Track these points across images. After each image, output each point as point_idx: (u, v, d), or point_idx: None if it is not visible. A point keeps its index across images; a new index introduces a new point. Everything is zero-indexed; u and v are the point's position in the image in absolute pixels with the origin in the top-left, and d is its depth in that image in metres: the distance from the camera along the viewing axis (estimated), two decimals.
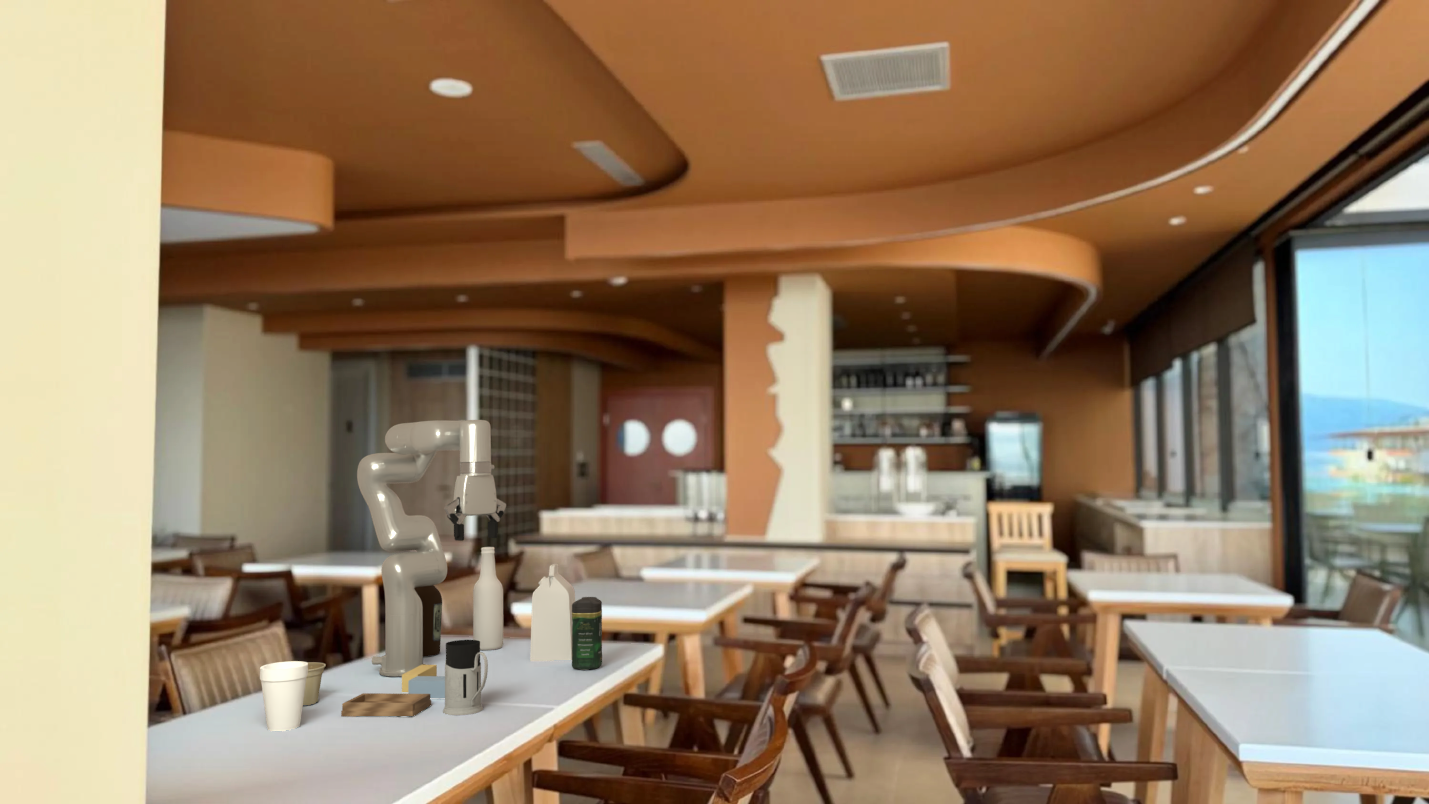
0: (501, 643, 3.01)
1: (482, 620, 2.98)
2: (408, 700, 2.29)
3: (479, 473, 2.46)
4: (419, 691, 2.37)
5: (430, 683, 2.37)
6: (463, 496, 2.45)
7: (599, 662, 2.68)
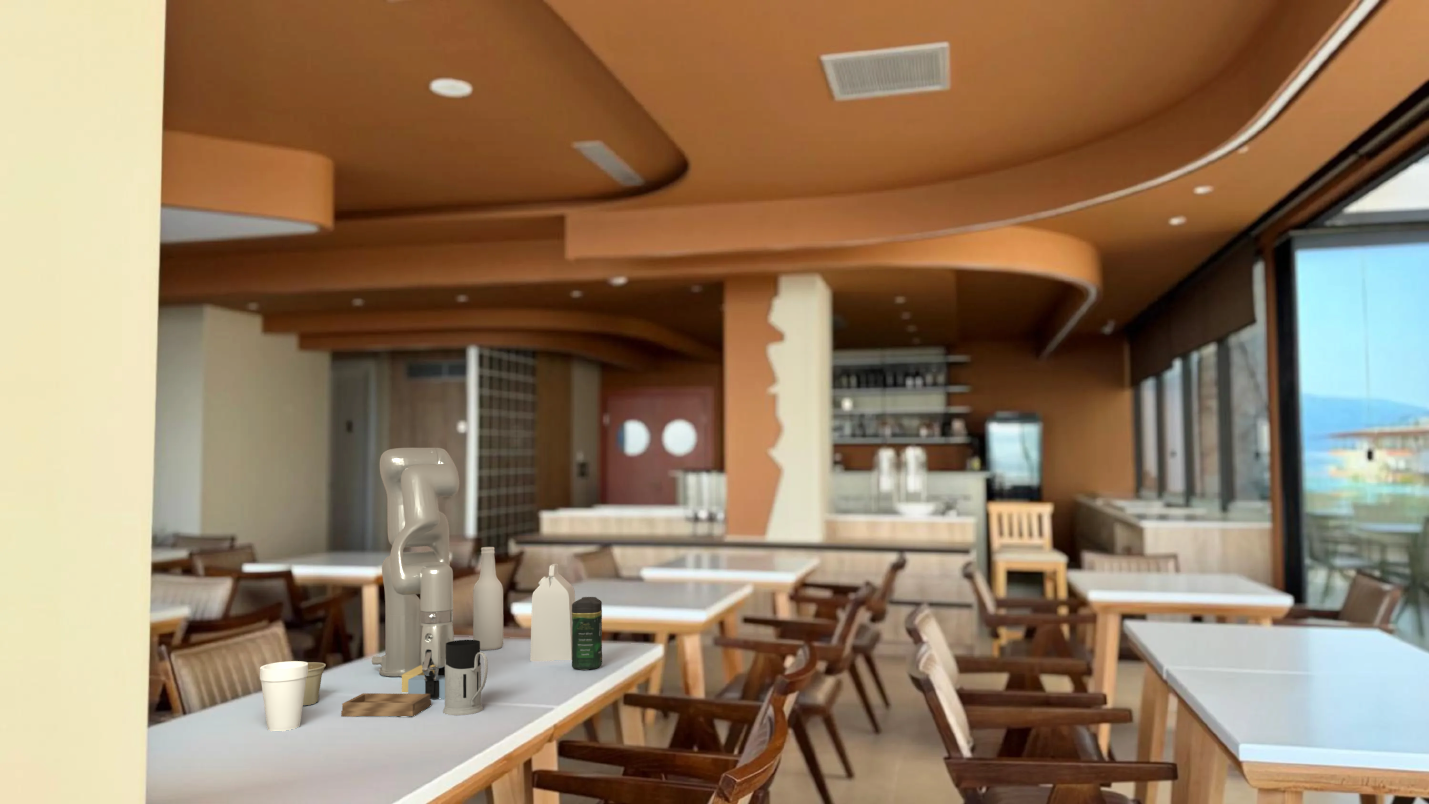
0: (501, 643, 3.01)
1: (482, 620, 2.98)
2: (408, 700, 2.29)
3: None
4: (418, 690, 2.37)
5: None
6: None
7: (599, 662, 2.68)
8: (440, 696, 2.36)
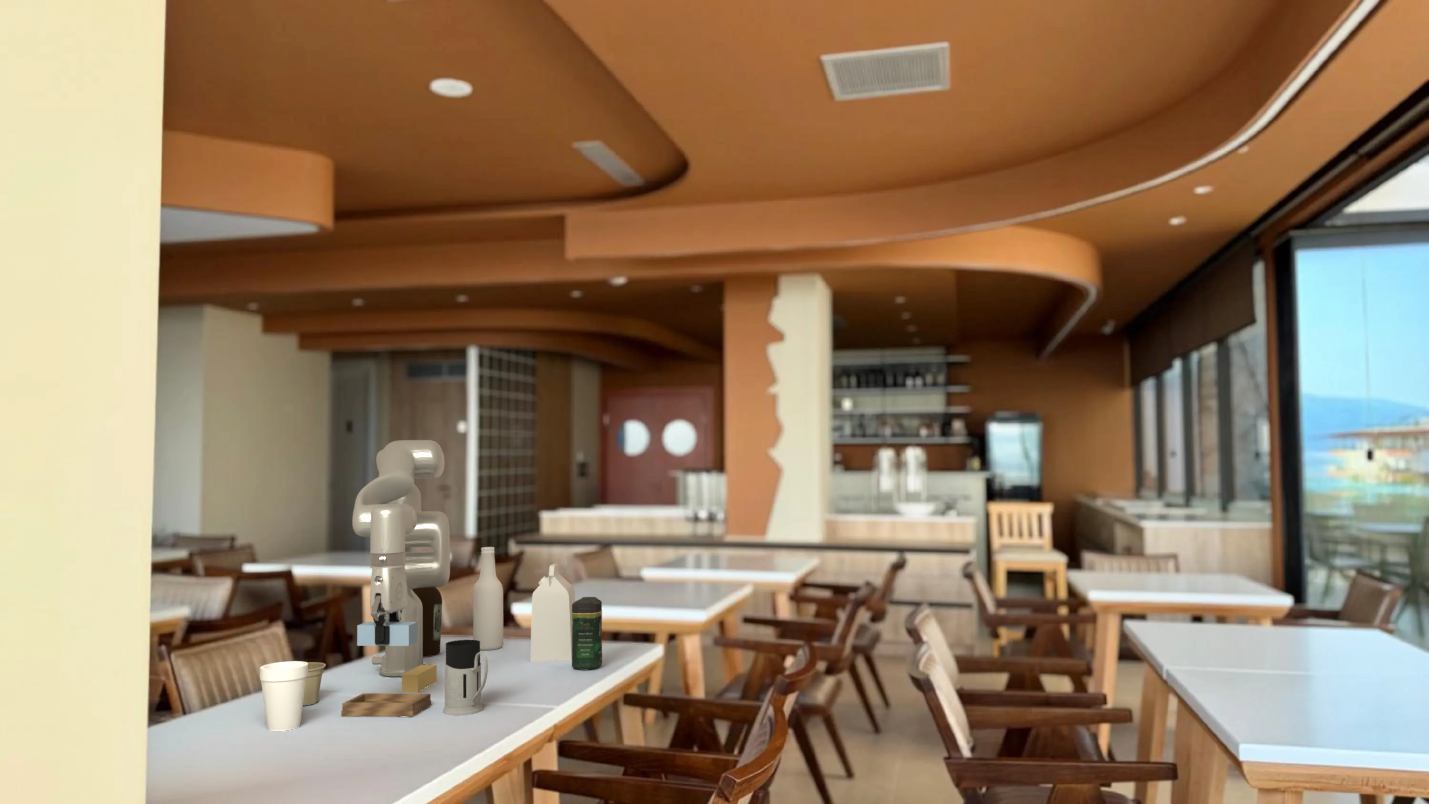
0: (501, 643, 3.01)
1: (482, 620, 2.98)
2: (408, 700, 2.29)
3: None
4: (368, 636, 2.25)
5: None
6: None
7: (599, 662, 2.68)
8: (391, 642, 2.24)
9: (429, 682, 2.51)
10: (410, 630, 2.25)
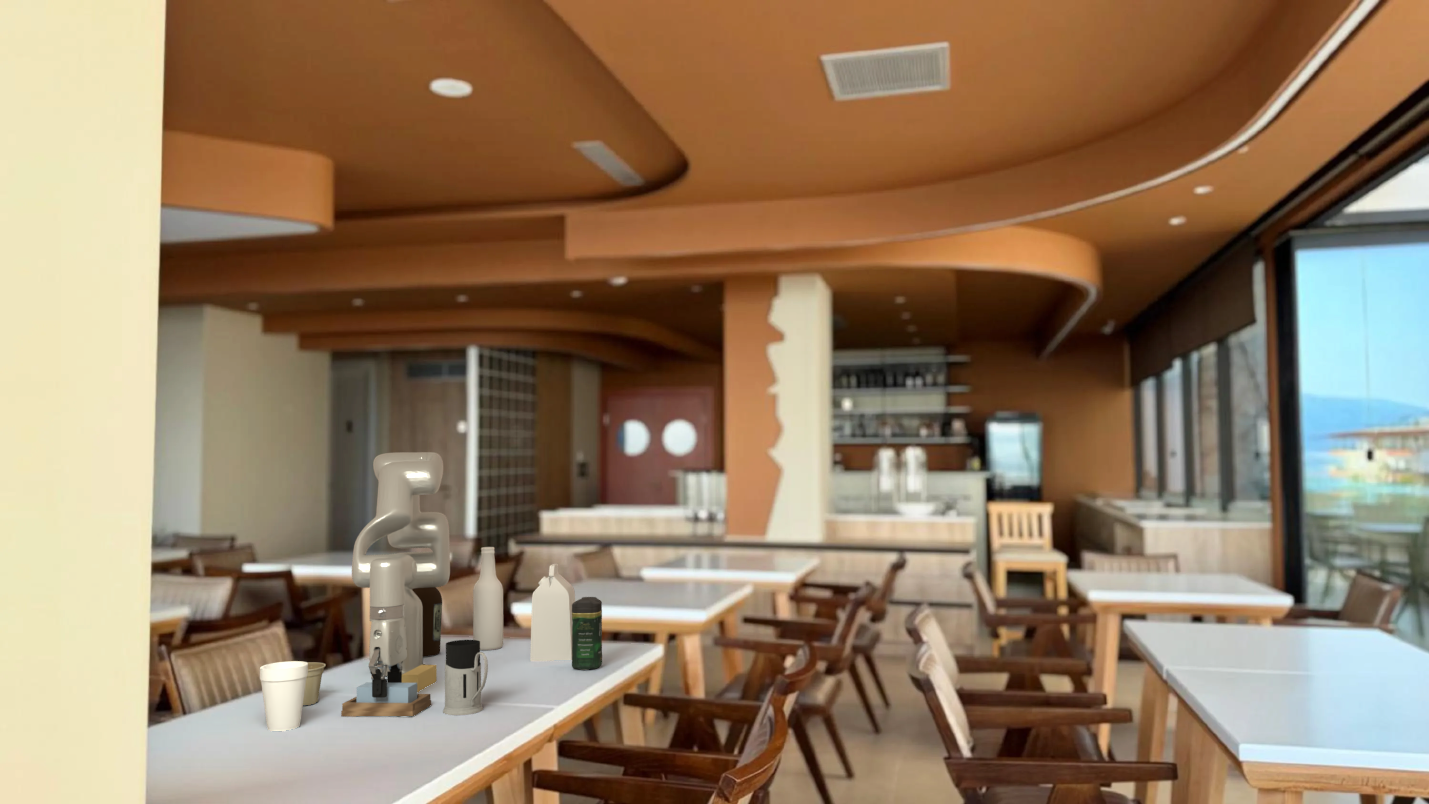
0: (501, 643, 3.01)
1: (482, 620, 2.98)
2: None
3: None
4: (367, 698, 2.24)
5: None
6: None
7: (599, 662, 2.68)
8: None
9: (429, 682, 2.51)
10: (409, 692, 2.24)
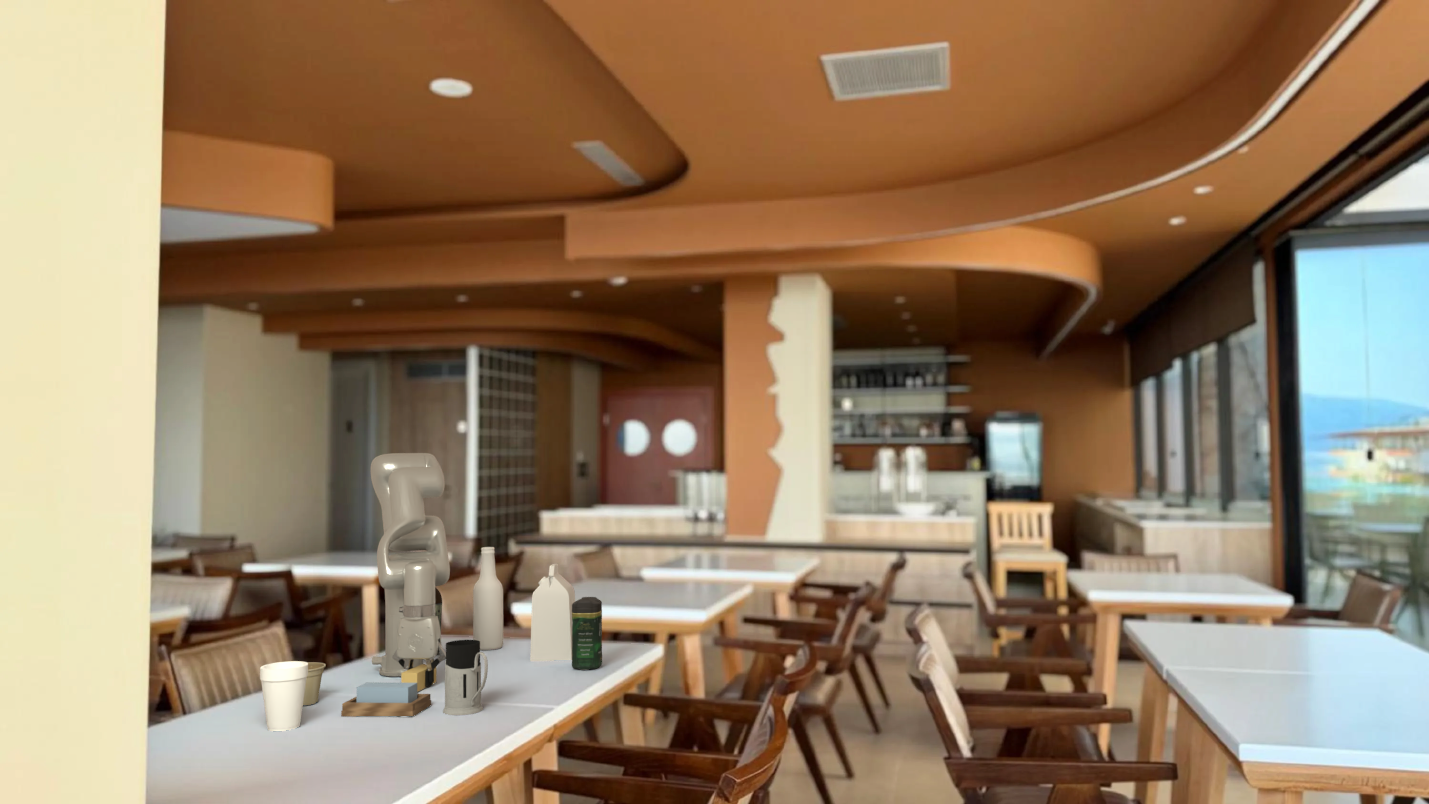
0: (501, 643, 3.01)
1: (482, 620, 2.98)
2: None
3: None
4: (367, 698, 2.24)
5: (379, 689, 2.24)
6: None
7: (599, 662, 2.68)
8: None
9: None
10: (409, 692, 2.24)
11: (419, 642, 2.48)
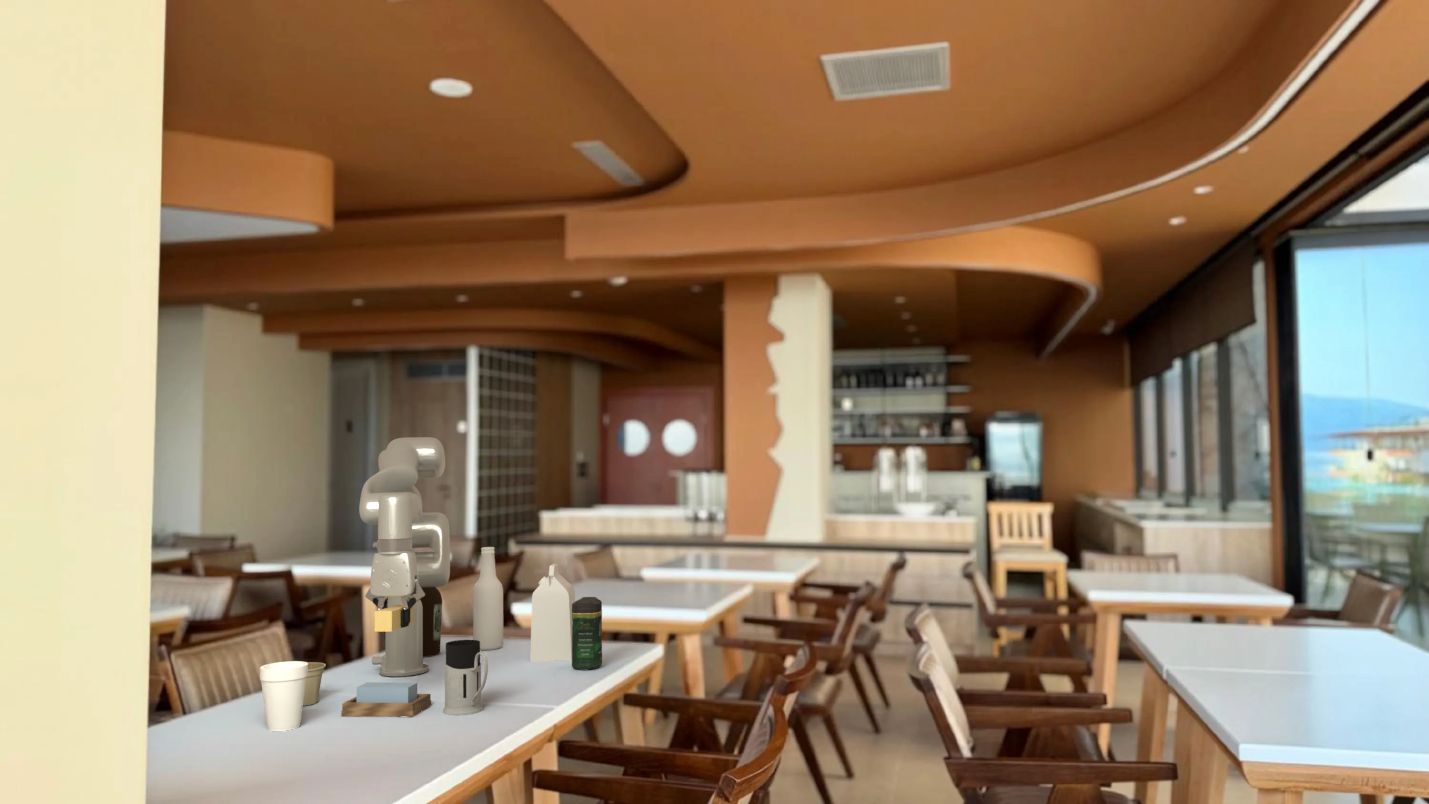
0: (501, 643, 3.01)
1: (482, 620, 2.98)
2: None
3: None
4: (367, 698, 2.24)
5: (379, 689, 2.24)
6: None
7: (599, 662, 2.68)
8: None
9: None
10: (409, 692, 2.24)
11: (394, 579, 2.30)
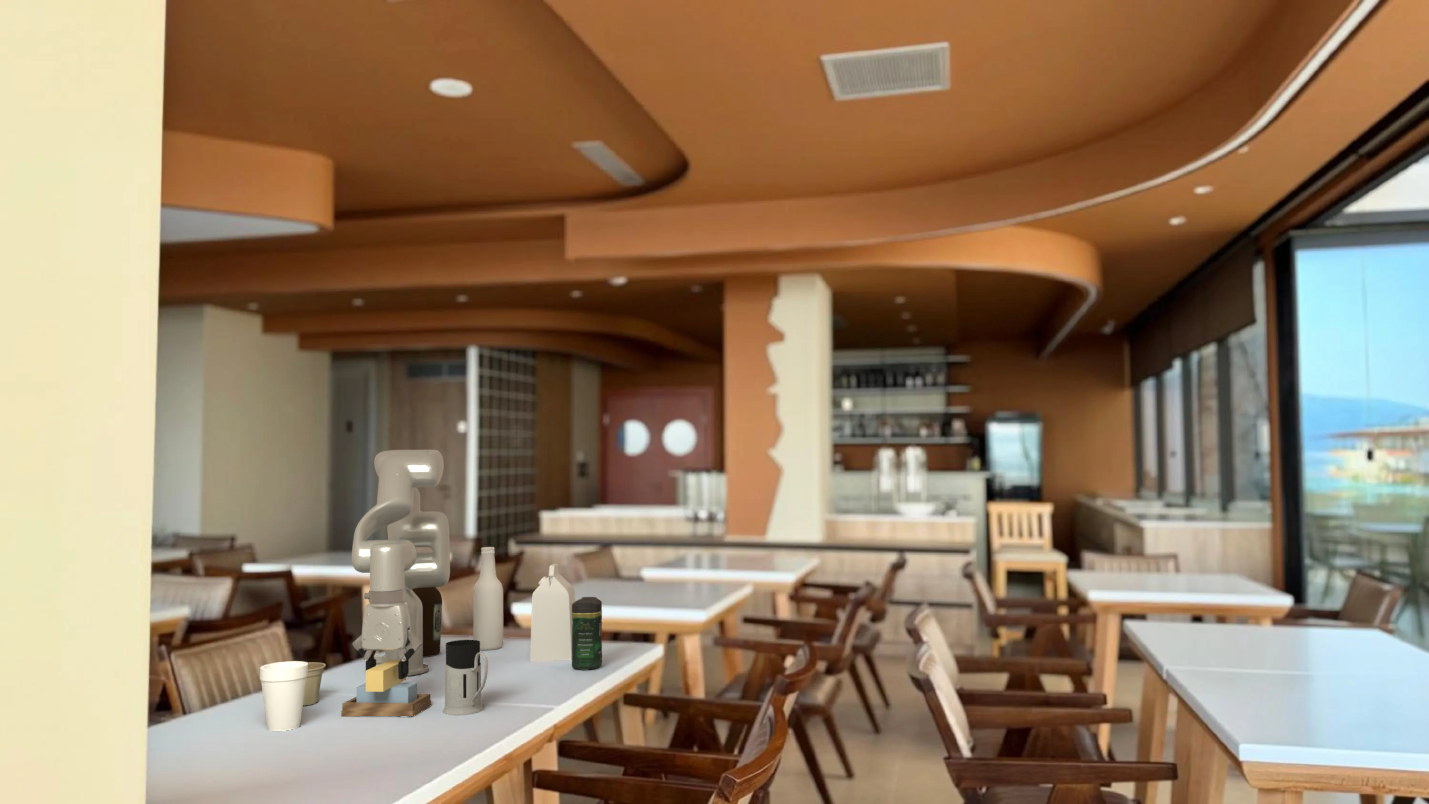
0: (501, 643, 3.01)
1: (482, 620, 2.98)
2: None
3: None
4: (367, 698, 2.24)
5: None
6: None
7: (599, 662, 2.68)
8: None
9: (397, 679, 2.27)
10: (409, 692, 2.24)
11: (386, 631, 2.24)
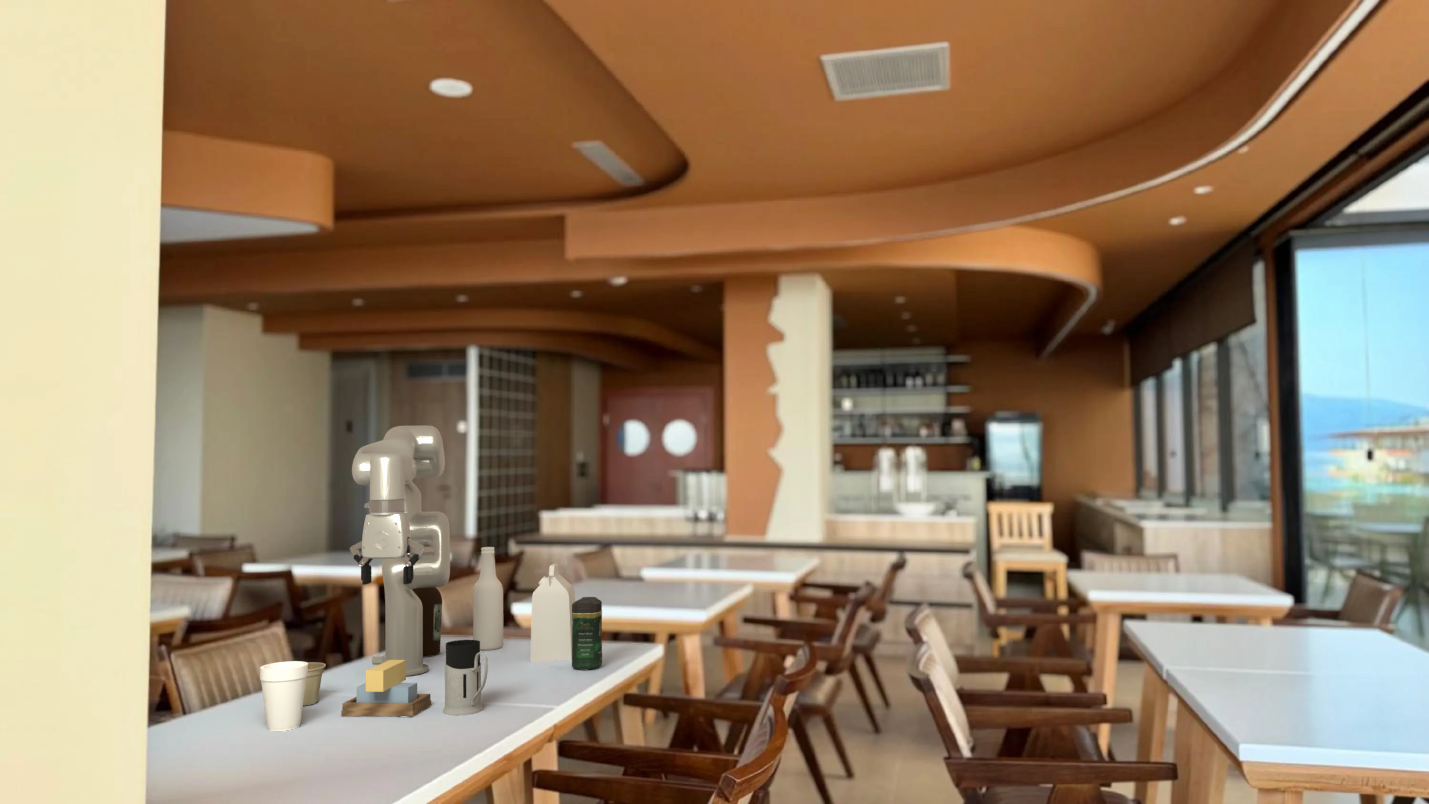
0: (501, 643, 3.01)
1: (482, 620, 2.98)
2: None
3: None
4: (367, 698, 2.24)
5: None
6: None
7: (599, 662, 2.68)
8: None
9: (397, 679, 2.27)
10: (409, 692, 2.24)
11: (386, 540, 2.25)
